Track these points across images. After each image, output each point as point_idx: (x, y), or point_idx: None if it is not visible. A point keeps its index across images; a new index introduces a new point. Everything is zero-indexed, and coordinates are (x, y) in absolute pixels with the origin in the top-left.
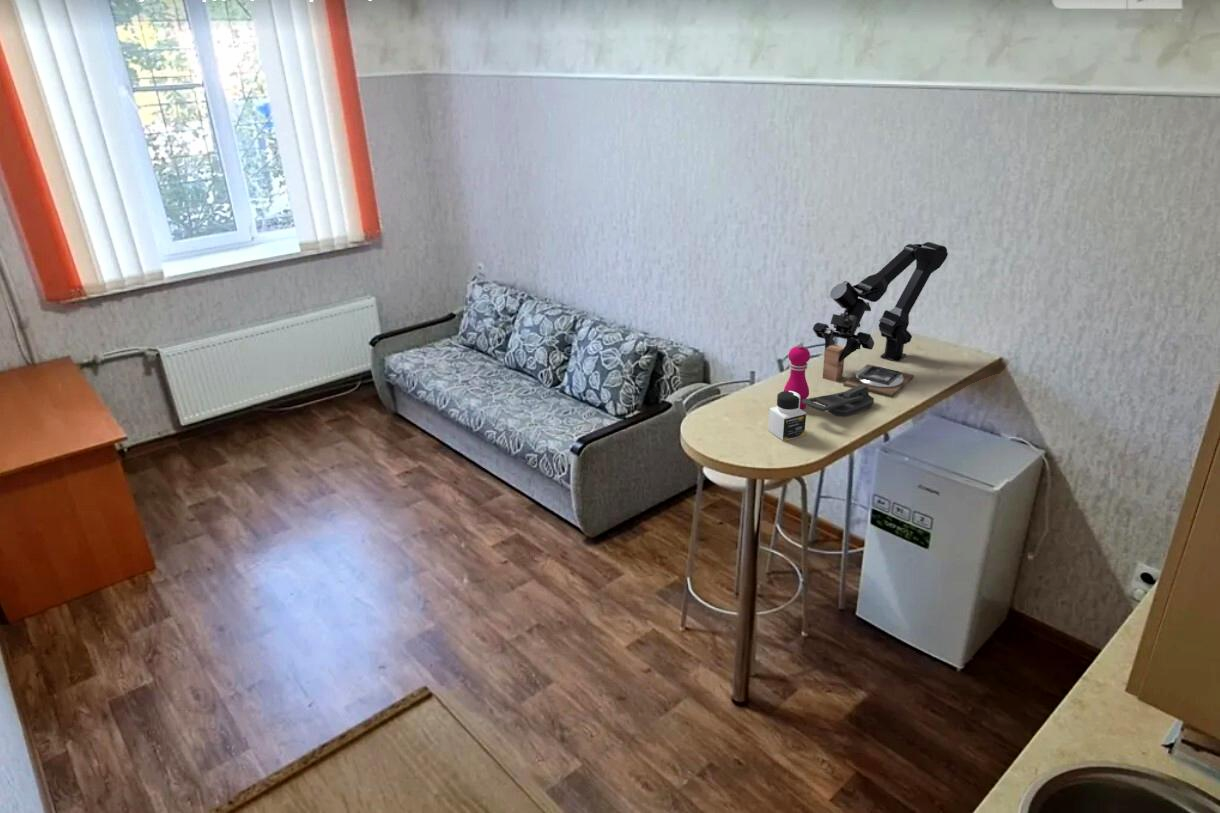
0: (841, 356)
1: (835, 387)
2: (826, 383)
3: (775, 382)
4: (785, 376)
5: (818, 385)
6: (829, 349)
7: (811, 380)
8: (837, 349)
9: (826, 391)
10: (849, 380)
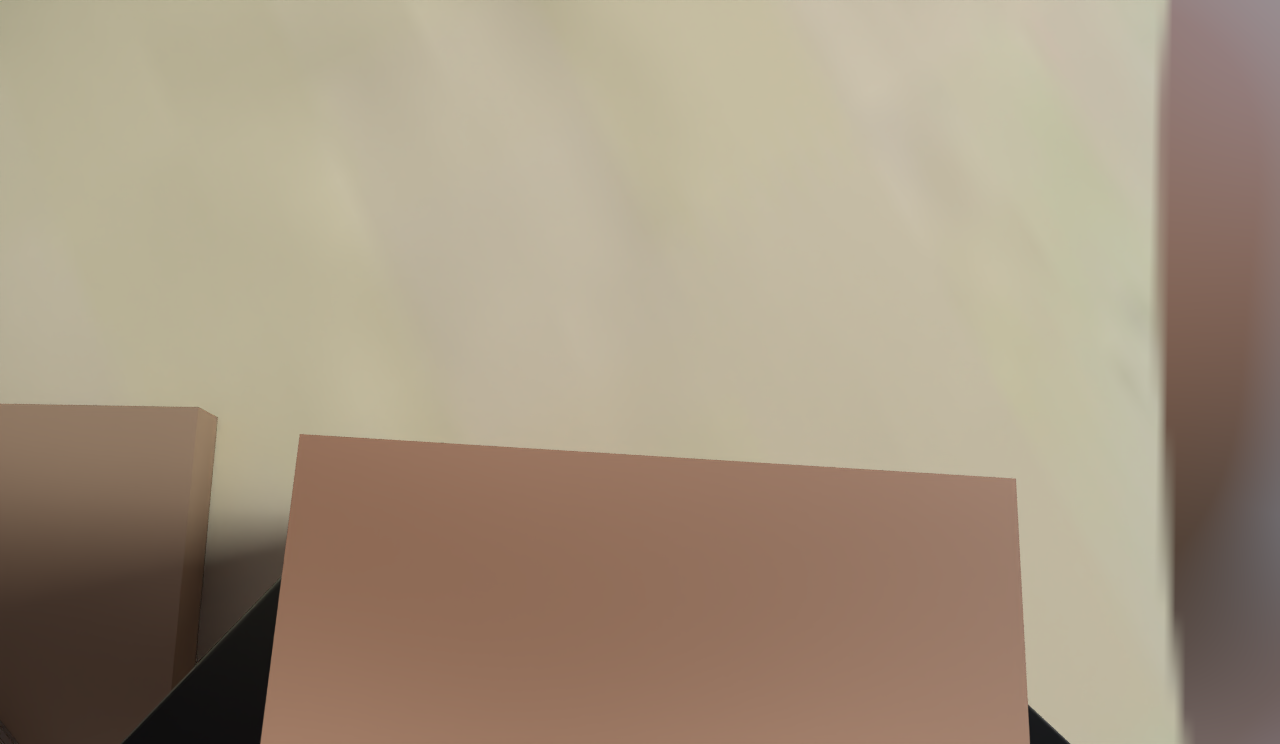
0: (256, 633)
1: (323, 282)
2: (525, 354)
3: (1122, 14)
4: (1144, 264)
5: (599, 213)
6: (806, 471)
7: (779, 334)
8: (479, 718)
9: (392, 68)
10: (135, 585)
